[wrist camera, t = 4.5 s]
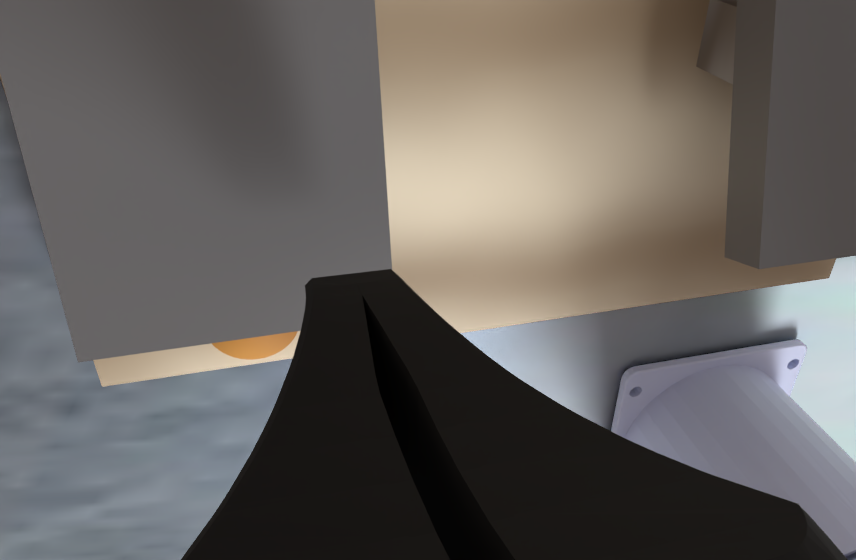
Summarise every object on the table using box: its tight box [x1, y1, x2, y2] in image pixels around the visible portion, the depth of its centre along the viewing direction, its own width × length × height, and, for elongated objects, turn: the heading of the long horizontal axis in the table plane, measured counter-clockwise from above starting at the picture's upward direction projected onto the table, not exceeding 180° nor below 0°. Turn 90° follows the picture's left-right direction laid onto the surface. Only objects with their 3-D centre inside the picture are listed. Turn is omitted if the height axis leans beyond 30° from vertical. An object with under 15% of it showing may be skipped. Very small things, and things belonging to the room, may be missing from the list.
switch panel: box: [0, 0, 836, 387], centre depth 16 cm, size 16×22×5 cm
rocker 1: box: [0, 0, 392, 362], centre depth 12 cm, size 9×6×1 cm, turn 0°
